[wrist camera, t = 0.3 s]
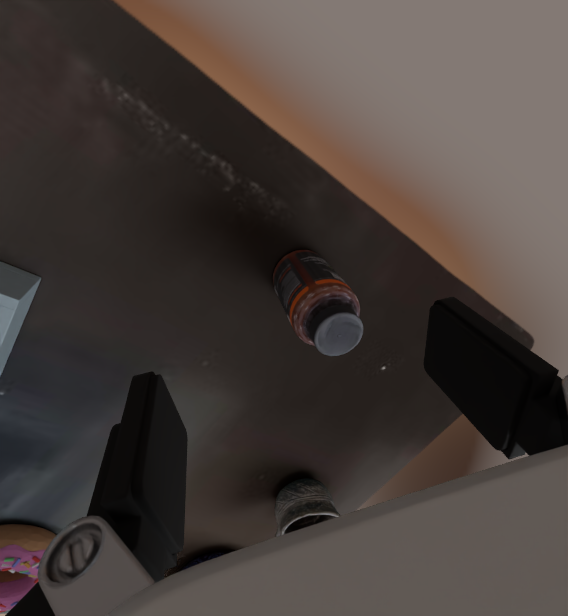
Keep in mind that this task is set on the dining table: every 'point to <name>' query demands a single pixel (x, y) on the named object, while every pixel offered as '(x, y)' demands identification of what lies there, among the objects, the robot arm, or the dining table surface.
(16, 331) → the blue-grey tray
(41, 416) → the dining table surface
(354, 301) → the supplement bottle
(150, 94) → the dining table surface
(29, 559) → the donut
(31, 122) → the dining table surface
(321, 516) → the mug
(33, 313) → the dining table surface
